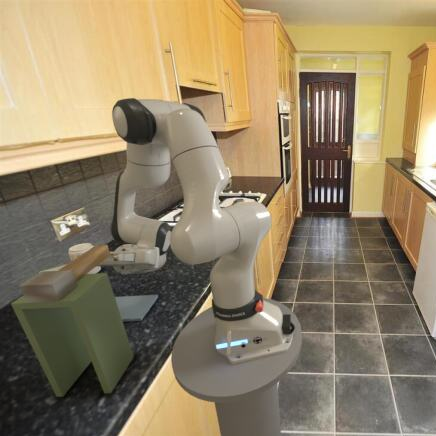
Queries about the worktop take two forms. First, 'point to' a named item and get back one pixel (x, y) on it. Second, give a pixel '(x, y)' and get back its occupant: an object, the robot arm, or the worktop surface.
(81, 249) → the beverage can
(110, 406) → the worktop surface
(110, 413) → the worktop surface
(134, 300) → the mat
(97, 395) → the worktop surface
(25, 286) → the mallet
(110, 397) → the worktop surface
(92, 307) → the green arch block
